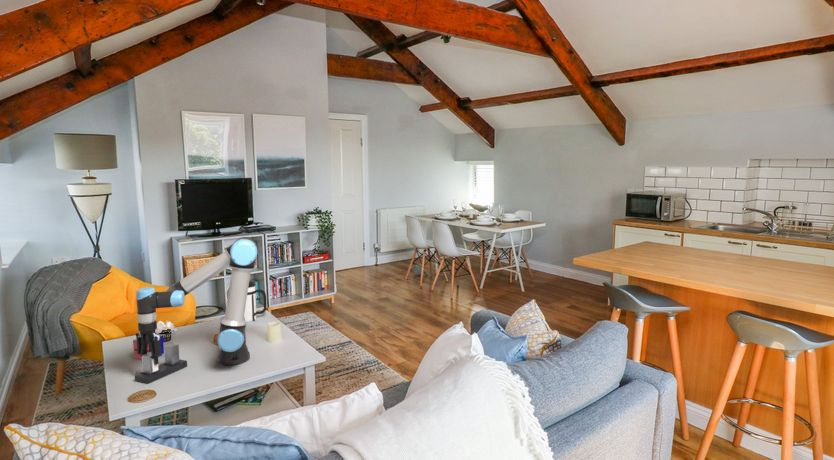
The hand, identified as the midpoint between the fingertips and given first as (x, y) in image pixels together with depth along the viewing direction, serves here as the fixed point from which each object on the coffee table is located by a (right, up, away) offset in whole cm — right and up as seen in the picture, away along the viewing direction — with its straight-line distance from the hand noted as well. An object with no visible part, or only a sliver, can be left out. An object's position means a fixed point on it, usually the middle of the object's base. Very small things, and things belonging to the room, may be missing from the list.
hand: (150, 369), depth 220 cm
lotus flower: (-27, +2, +63) cm, 69 cm away
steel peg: (0, -4, +1) cm, 4 cm away
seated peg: (+4, -3, +12) cm, 13 cm away
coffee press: (+15, +5, +88) cm, 90 cm away
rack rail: (+2, -4, +6) cm, 7 cm away
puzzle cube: (-17, -1, +29) cm, 33 cm away
